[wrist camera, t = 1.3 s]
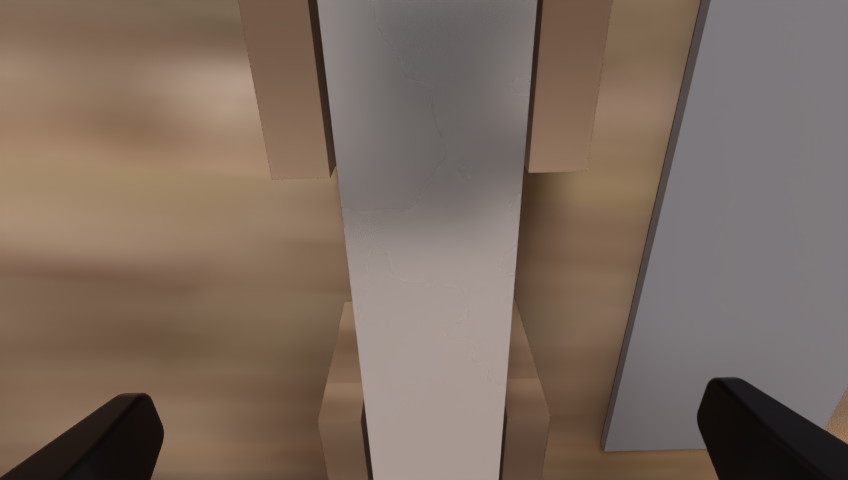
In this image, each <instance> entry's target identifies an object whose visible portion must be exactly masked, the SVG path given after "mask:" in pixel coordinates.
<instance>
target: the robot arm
mask: <svg viewBox="0 0 848 480" xmlns="http://www.w3.org/2000/svg"><path fill="white" fill-rule="evenodd" d="M697 424H698V428H699V431H700V433H701V436H702V438H703V441H704V443H705V446H706V448H707V451H708V453H709V456H710V458H711V461H712V463H713V466H714V468H715V471H716V474H717V476H718V479H719V480H848V444H847V443H845V442H843V441H842V440H840V439H839V438H837V437H835V436H834V435H832V434H830V433H829V432H827V431H826V430H824V429H822V428H821V427H819V426H818V425H816V424H814V423H813V422H811V421H810V420H808V419H806V418H805V417H803V416H801V415H800V414H798V413H797V412H795V411H793V410H792V409H790V408H789V407H787V406H785V405H784V404H782V403H780V402H779V401H777V400H776V399H774V398H772V397H771V396H769V395H768V394H766V393H764V392H763V391H761V390H760V389H758V388H756V387H755V386H753V385H751V384H750V383H748V382H747V381H745V380H743V379H741V378H738V377H715V378H712V379H711V380H710V381H708V383H707V386H706V389H705V392H704V394H703V397H702V400H701V403H700V406H699V408H698V412H697ZM163 438H164V429H163V425H162V423H161V420H160V418H159V416H158V413H157V411H156V408H155V406H154V403H153V401H152V399H151V397H150V396H149V395H148V394H146V393H124V394H120V395H118V396H116V397H114V398H113V399H111V400H110V401H108V402H107V403H106V404H104V405H103V406H101V407H100V408H98V409H97V410H96V411H94V412H93V413H91V414H90V415H89V416H87V417H86V418H84V419H83V420H81V421H80V422H79V423H77V424H76V425H74V426H73V427H71V428H70V429H69V430H67V431H66V432H64V433H63V434H62V435H60V436H59V437H57V438H56V439H54V440H53V441H52V442H50V443H49V444H47V445H46V446H44V447H43V448H42V449H40V450H39V451H37V452H36V453H34V454H33V455H32V456H30V457H29V458H27V459H26V460H25V461H23V462H22V463H20V464H19V465H17V466H16V467H15V468H13V469H12V470H10V471H9V472H7V473H6V474H5V475H3V476H2V477H0V480H151V477H152V474H153V471H154V468H155V465H156V462H157V458H158V455H159V452H160V449H161V446H162V443H163Z"/></svg>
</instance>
